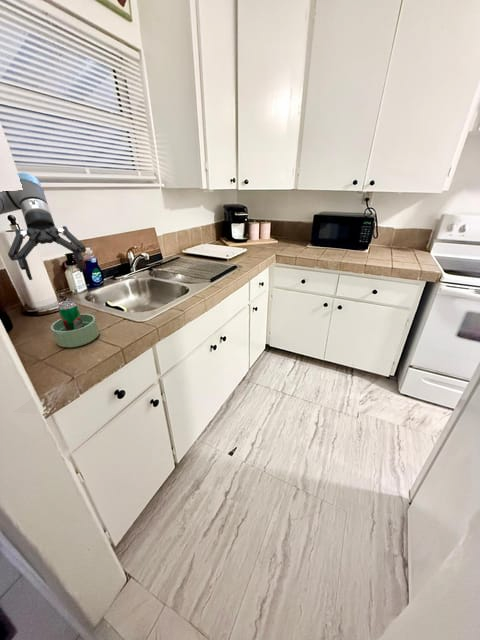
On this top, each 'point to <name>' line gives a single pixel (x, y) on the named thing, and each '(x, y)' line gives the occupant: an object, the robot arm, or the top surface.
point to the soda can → (70, 315)
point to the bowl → (75, 332)
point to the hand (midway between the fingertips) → (56, 273)
